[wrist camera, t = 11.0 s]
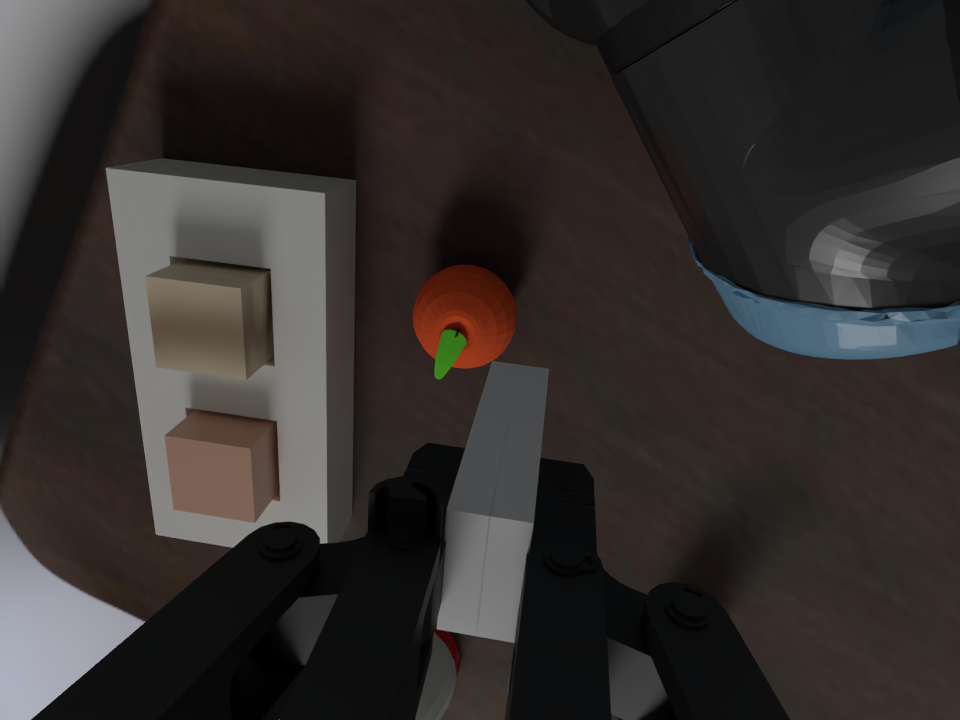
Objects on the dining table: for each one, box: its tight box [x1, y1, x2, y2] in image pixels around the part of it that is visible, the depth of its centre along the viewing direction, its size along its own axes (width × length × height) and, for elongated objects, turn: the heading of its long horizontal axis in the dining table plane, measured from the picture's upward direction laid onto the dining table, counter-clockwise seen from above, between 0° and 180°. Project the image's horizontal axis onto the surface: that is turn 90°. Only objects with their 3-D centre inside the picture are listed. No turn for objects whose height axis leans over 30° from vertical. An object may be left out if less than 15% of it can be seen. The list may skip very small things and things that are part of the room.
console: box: [106, 158, 356, 548], centre depth 48 cm, size 28×14×6 cm, turn 175°
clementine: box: [413, 264, 517, 380], centre depth 43 cm, size 8×7×7 cm
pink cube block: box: [164, 409, 280, 523], centre depth 47 cm, size 6×6×6 cm
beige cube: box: [145, 258, 274, 380], centre depth 42 cm, size 6×6×6 cm
